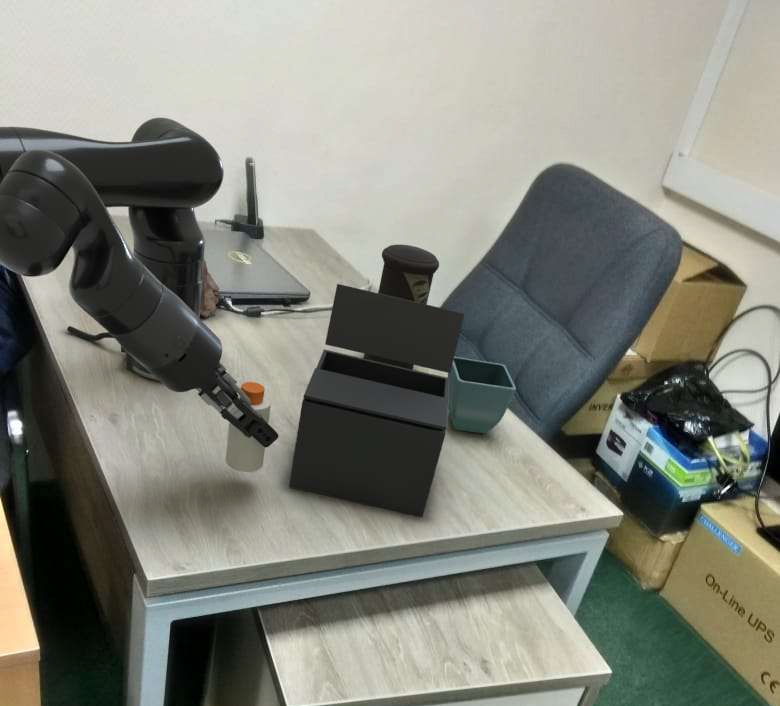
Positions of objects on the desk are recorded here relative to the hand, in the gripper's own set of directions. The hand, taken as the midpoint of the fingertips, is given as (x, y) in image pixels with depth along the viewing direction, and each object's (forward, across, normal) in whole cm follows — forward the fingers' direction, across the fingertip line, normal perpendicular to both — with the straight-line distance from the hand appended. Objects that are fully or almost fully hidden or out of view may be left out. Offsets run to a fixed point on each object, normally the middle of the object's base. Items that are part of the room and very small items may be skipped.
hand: (263, 429), depth 94 cm
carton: (+16, 0, +5) cm, 17 cm away
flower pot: (+33, -8, +21) cm, 40 cm away
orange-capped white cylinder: (+2, 0, -4) cm, 5 cm away
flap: (+8, -8, +21) cm, 24 cm away
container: (+30, -28, +19) cm, 45 cm away
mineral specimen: (+10, -55, -1) cm, 56 cm away
